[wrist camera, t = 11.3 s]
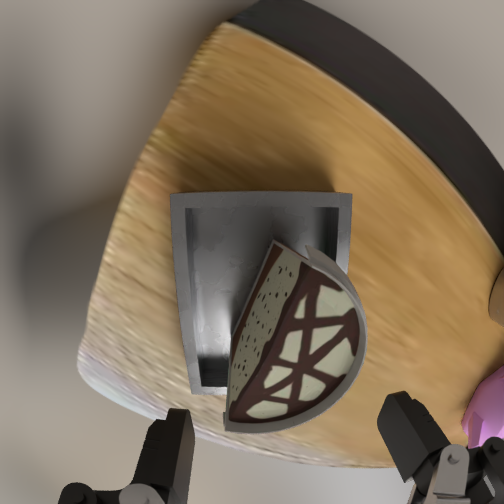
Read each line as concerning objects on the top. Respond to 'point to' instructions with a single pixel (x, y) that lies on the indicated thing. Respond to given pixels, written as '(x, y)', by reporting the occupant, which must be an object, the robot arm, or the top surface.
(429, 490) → the robot arm
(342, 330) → the grey speckled half-round piece
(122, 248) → the top surface
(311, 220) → the grey metal tray
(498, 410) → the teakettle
